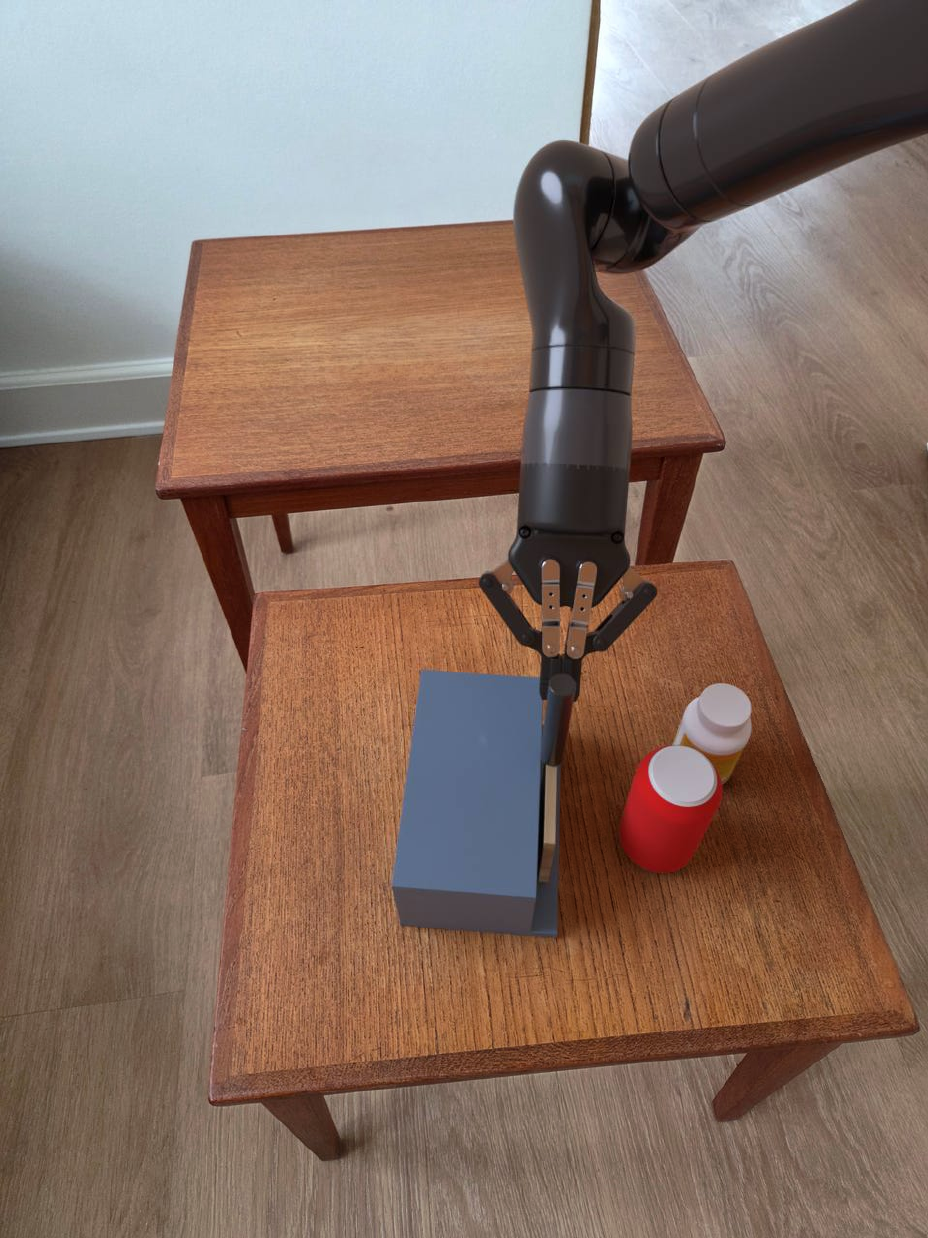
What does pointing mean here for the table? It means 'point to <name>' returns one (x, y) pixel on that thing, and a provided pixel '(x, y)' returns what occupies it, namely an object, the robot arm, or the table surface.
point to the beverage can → (669, 808)
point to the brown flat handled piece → (553, 763)
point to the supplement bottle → (717, 726)
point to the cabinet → (475, 809)
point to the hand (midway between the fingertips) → (558, 706)
